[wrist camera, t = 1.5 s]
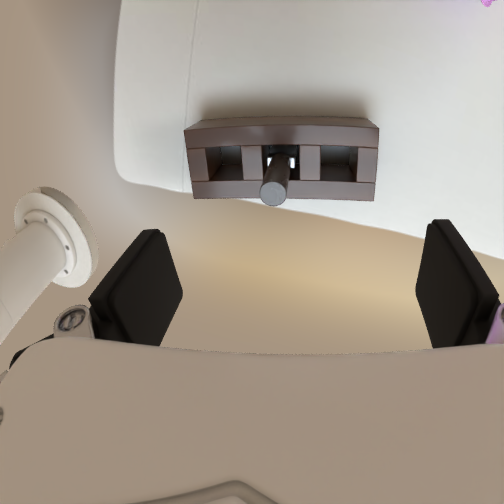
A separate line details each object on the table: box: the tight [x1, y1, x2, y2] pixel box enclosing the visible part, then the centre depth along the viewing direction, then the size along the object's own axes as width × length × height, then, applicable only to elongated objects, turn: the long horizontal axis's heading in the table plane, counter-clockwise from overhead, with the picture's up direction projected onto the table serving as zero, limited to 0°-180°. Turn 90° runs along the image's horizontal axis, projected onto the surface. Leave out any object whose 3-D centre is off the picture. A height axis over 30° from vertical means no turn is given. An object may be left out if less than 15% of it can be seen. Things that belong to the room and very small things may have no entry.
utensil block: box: [184, 116, 379, 201], centre depth 28 cm, size 7×17×5 cm, turn 94°
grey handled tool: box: [259, 145, 297, 206], centre depth 25 cm, size 2×2×12 cm
